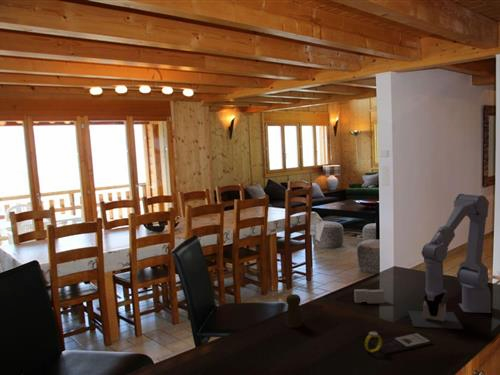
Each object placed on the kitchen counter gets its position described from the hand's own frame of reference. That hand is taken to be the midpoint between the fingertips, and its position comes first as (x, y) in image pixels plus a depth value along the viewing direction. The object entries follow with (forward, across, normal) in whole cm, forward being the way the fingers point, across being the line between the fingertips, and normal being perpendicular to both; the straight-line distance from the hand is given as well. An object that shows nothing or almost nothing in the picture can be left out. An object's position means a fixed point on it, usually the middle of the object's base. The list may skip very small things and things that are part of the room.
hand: (434, 313), depth 156 cm
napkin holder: (+4, +9, +27) cm, 29 cm away
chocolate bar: (+3, -23, +6) cm, 24 cm away
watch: (+3, -32, +13) cm, 34 cm away
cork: (+3, -24, +44) cm, 51 cm away
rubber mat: (+3, +1, 0) cm, 3 cm away
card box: (+2, 0, 0) cm, 2 cm away
